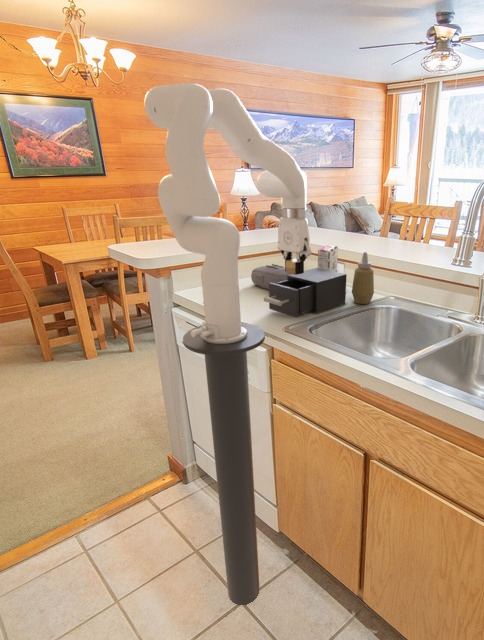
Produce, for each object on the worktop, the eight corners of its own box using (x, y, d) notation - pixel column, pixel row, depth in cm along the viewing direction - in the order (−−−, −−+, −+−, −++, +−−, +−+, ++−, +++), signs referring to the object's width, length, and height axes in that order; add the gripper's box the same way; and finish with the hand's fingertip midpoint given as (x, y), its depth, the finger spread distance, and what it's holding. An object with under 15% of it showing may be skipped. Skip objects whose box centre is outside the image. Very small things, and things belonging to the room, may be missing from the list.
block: (294, 274, 140) (294, 262, 138) (285, 272, 142) (285, 260, 140) (303, 272, 143) (303, 260, 141) (294, 270, 145) (294, 258, 143)
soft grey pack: (246, 285, 177) (282, 295, 165) (245, 264, 173) (281, 273, 162) (273, 278, 187) (308, 287, 176) (272, 259, 184) (308, 266, 172)
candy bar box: (325, 285, 180) (326, 244, 173) (337, 286, 178) (338, 245, 171) (316, 292, 170) (317, 249, 163) (328, 293, 169) (330, 250, 162)
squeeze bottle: (376, 301, 161) (380, 251, 153) (367, 306, 155) (371, 255, 147) (357, 297, 165) (359, 249, 157) (347, 302, 158) (349, 252, 151)
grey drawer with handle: (285, 321, 136) (285, 293, 133) (258, 312, 144) (257, 285, 140) (325, 307, 150) (326, 281, 146) (298, 299, 157) (298, 275, 154)
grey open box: (316, 314, 146) (317, 282, 142) (287, 305, 154) (286, 275, 150) (345, 303, 157) (346, 274, 153) (316, 296, 165) (316, 267, 161)
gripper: (266, 212, 137) (268, 270, 145) (305, 217, 127) (305, 279, 135) (283, 210, 142) (284, 266, 150) (322, 215, 132) (321, 274, 140)
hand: (294, 271), depth 142 cm, fingers closed on block, 4 cm apart
